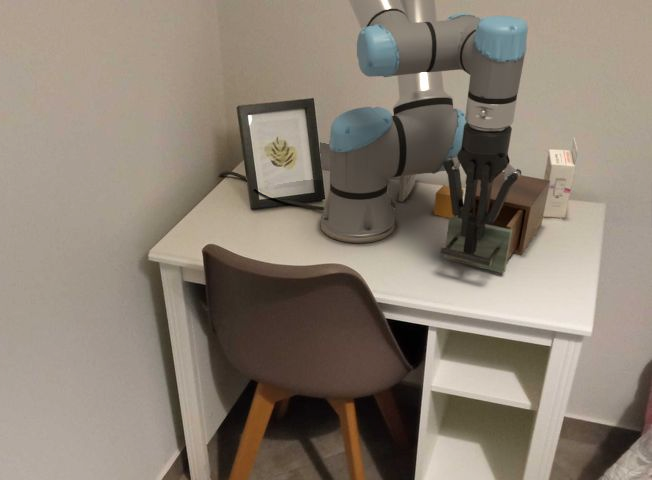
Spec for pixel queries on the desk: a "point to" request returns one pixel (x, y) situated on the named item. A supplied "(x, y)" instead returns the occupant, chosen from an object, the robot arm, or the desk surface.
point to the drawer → (487, 239)
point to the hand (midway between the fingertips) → (469, 253)
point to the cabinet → (523, 203)
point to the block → (443, 202)
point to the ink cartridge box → (559, 180)
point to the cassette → (406, 186)
